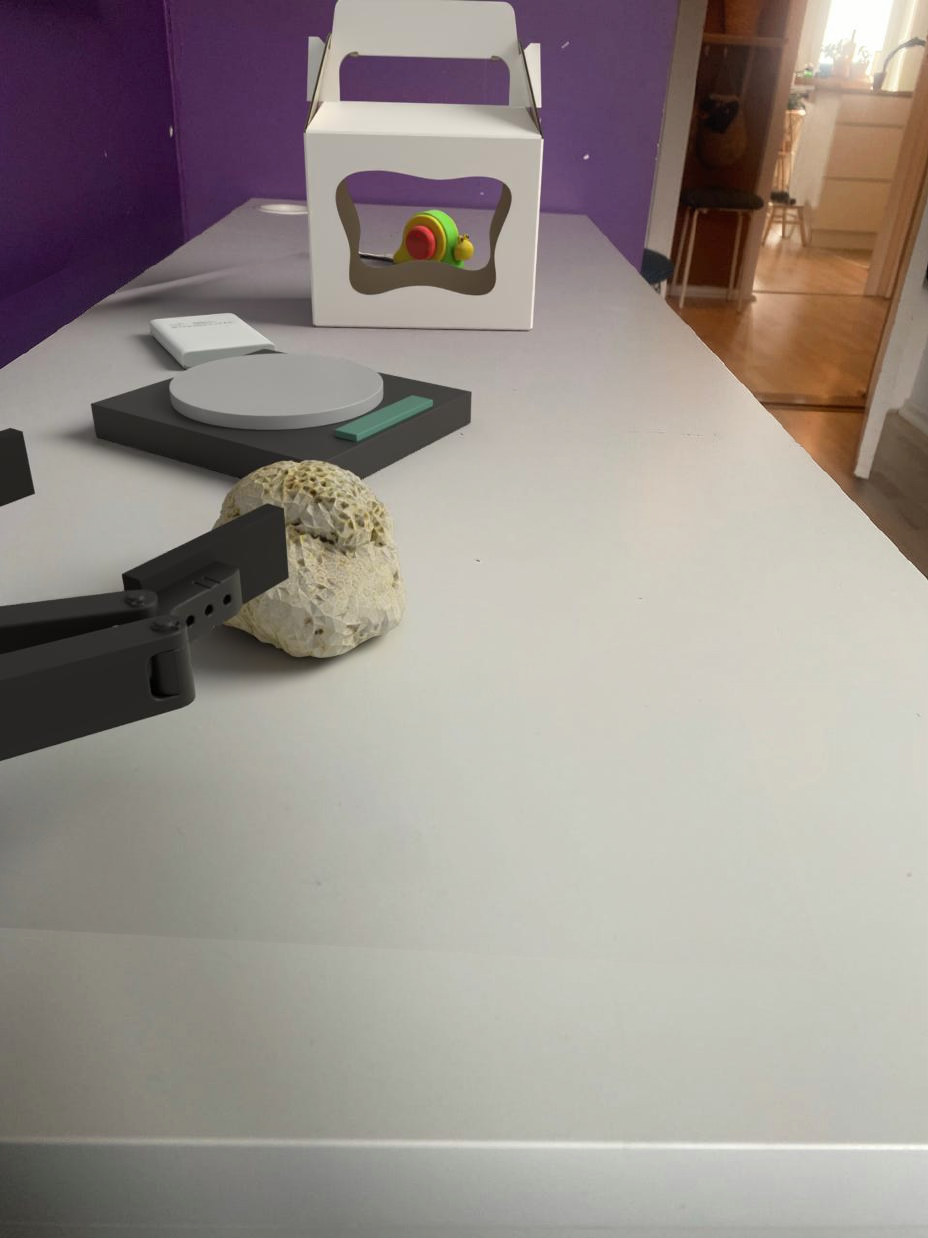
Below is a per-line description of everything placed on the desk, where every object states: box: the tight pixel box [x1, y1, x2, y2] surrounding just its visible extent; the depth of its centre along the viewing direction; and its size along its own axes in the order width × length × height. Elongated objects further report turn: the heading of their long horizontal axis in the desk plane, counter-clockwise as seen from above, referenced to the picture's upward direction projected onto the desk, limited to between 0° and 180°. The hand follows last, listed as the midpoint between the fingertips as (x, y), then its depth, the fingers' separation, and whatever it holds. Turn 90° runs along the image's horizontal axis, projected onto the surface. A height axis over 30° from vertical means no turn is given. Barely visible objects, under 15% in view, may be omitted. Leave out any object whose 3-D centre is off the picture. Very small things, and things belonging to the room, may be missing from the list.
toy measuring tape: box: [359, 209, 475, 269], centre depth 127 cm, size 6×19×7 cm, turn 58°
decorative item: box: [211, 460, 408, 659], centre depth 48 cm, size 12×9×10 cm
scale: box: [90, 349, 473, 481], centre depth 72 cm, size 20×18×3 cm
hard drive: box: [149, 312, 276, 370], centre depth 91 cm, size 2×8×12 cm
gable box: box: [303, 0, 545, 331], centre depth 98 cm, size 22×13×28 cm, turn 92°
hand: (141, 497), depth 38 cm, fingers open, 13 cm apart
